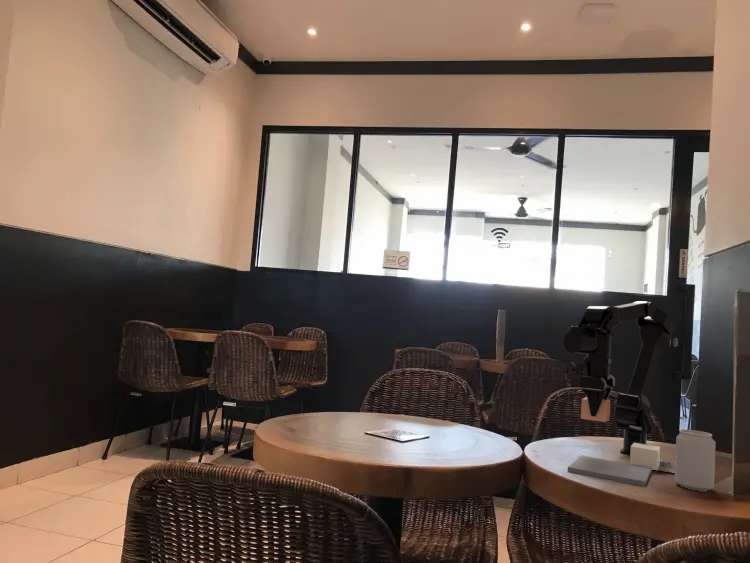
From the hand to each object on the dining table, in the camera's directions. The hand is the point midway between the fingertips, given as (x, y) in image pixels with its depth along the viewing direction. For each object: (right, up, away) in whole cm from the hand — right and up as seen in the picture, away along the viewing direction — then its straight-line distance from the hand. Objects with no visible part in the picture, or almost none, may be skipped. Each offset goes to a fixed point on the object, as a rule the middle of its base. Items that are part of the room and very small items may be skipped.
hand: (595, 414), depth 149 cm
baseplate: (-2, -10, -15) cm, 18 cm away
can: (+12, -11, -24) cm, 29 cm away
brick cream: (+10, -11, -7) cm, 16 cm away
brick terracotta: (0, -1, 0) cm, 1 cm away
